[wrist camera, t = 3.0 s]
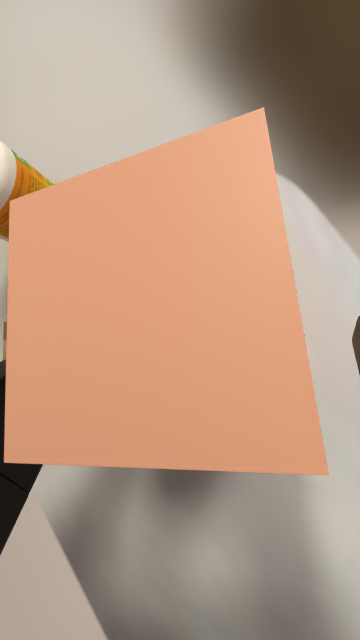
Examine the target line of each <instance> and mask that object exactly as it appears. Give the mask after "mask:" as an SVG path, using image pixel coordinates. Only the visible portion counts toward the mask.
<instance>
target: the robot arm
mask: <svg viewBox="0 0 360 640" xmlns="http://www.w3.org/2000/svg"><path fill="white" fill-rule="evenodd" d="M352 344H353V348H354V353H355V357H356V361H357V365H358V370H359V374H360V316H359V317H358V319H357V322H356V326H355V329H354V333H353V337H352ZM5 391H6V359H5V360H3V361H1V362H0V555H1V552H2V550H3V548H4V546H5V544H6V542H7V539H8V538H9V536H10V533H11V531H12V529H13V527H14V525H15V523H16V520H17V519H18V517H19V514H20V512H21V510H22V508H23V506H24V504H25V502H26V500H27V497H28V495H29V492H30V491H31V489H32V486H33V484H34V482H35V480H36V478H37V476H38V474H39V472H40V470H41V467H42V465H43V464H26V463H4V436H5Z"/></svg>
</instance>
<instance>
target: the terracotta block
mask: <svg viewBox="0 0 360 640" xmlns="http://www.w3.org/2000/svg"><path fill="white" fill-rule="evenodd" d="M4 463H26V464H52V465H78V466H103V467H129V468H154V469H180V470H206V471H231V472H257V473H283V474H308V475H329V473H328V468H327V462H326V456H325V451H324V445H323V439H322V434H321V428H320V422H319V417H318V411H317V405H316V400H315V394H314V389H313V383H312V377H311V372H310V366H309V360H308V355H307V349H306V343H305V338H304V332H303V326H302V321H301V315H300V309H299V304H298V298H297V292H296V287H295V281H294V275H293V270H292V264H291V258H290V253H289V247H288V241H287V236H286V230H285V224H284V219H283V213H282V207H281V202H280V196H279V190H278V185H277V179H276V173H275V168H274V162H273V156H272V151H271V146H270V140H269V134H268V128H267V122H266V117H265V111H264V107H263V108H261V109H258V110H255V111H252V112H250V113H247V114H244V115H242V116H239V117H236V118H233V119H231V120H228V121H225V122H223V123H220V124H217V125H215V126H212V127H209V128H206V129H204V130H201V131H198V132H195V133H193V134H190V135H187V136H185V137H182V138H179V139H176V140H174V141H171V142H168V143H166V144H163V145H160V146H157V147H155V148H152V149H150V150H147V151H144V152H141V153H139V154H136V155H133V156H130V157H128V158H125V159H122V160H120V161H117V162H114V163H111V164H109V165H106V166H103V167H101V168H98V169H95V170H92V171H90V172H87V173H84V174H82V175H79V176H76V177H73V178H71V179H68V180H65V181H63V182H60V183H57V184H54V185H52V186H49V187H46V188H44V189H41V190H38V191H35V192H33V193H30V194H27V195H25V196H22V197H19V198H16V199H14V200H11V201H10V211H9V256H8V301H7V346H6V391H5V436H4Z"/></svg>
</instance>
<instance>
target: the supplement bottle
mask: <svg viewBox="0 0 360 640" xmlns="http://www.w3.org/2000/svg"><path fill="white" fill-rule="evenodd" d="M52 185H54V184H53V183H51V182H50V181H49V180H48V179H46V178H45V177H44V176H43V175H42V174H40V173H39V172H38V171H37V170H35V169H34V168H33V167H32V166H31V165H29V164H28V163H27V162H26V161H25V160H23V159H22V158H21V157H20V156H18V155H17V154H16V153H15V152H14V151H13V150H11V149H10V148H9V147H7V146H6V145H5V144H4V143H2V142H1V141H0V238H1V239H3V240H6V241H8V242H9V211H10V201H11V200H14V199H16V198H19V197H22V196H25V195H27V194H30V193H33V192H35V191H38V190H41V189H44V188H46V187H49V186H52Z"/></svg>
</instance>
